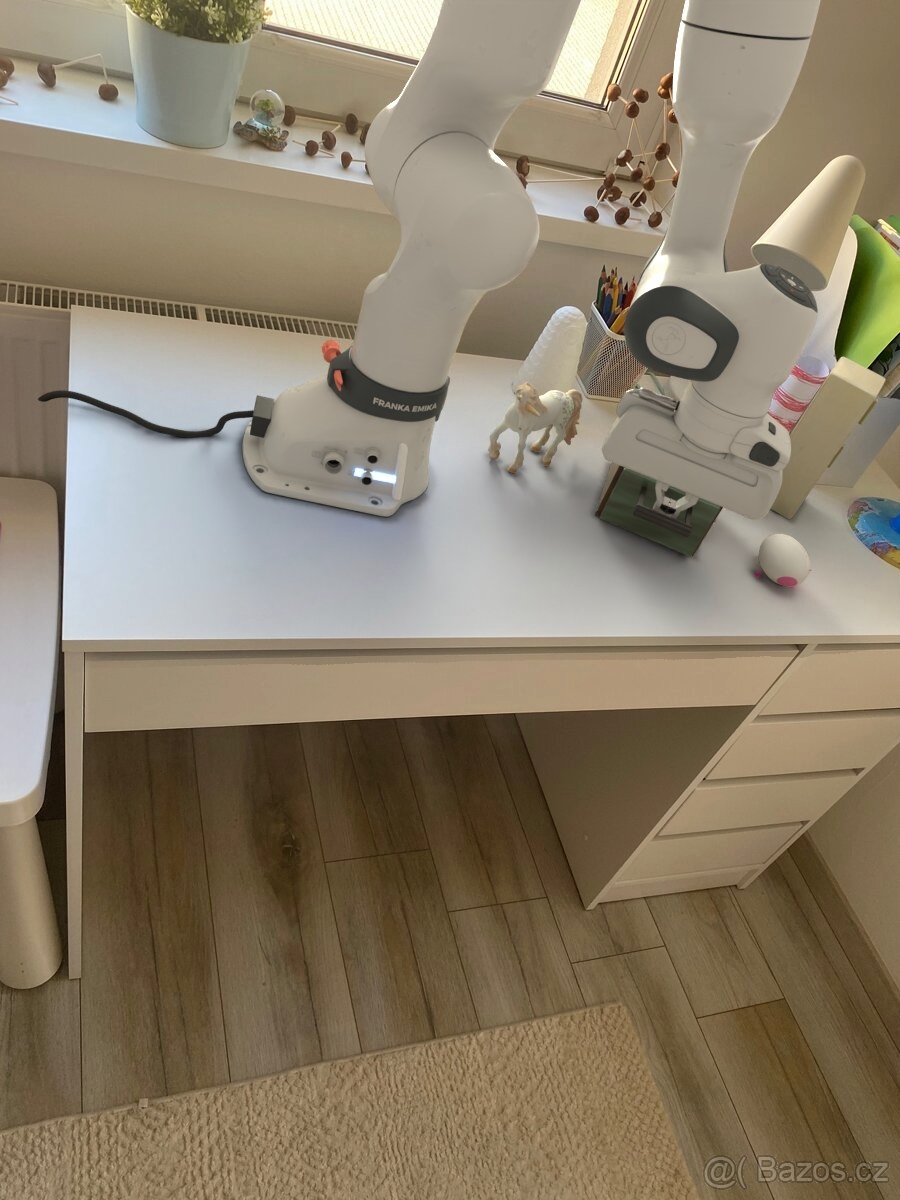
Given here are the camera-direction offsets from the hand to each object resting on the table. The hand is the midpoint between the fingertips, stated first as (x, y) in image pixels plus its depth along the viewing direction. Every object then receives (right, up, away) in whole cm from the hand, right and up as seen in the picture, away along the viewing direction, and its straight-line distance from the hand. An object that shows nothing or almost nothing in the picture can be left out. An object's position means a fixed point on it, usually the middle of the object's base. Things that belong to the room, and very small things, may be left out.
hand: (663, 514), depth 108 cm
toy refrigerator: (+23, +4, +25) cm, 34 cm away
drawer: (0, 0, +8) cm, 8 cm away
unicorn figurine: (-15, +6, +11) cm, 19 cm away
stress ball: (+17, -7, +10) cm, 21 cm away
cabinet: (+1, +2, +13) cm, 13 cm away
